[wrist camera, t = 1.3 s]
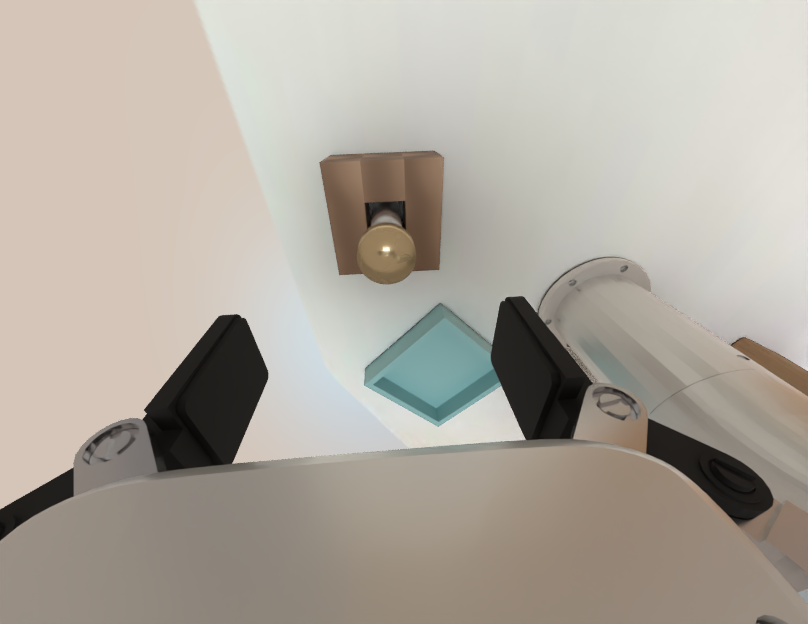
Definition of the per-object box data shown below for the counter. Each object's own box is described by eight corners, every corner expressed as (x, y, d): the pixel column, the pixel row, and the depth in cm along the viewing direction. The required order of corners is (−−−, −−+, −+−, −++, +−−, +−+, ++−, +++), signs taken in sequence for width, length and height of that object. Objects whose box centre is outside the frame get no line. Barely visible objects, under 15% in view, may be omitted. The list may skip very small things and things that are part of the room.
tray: (508, 359, 40) (516, 375, 37) (435, 409, 45) (438, 426, 43) (440, 303, 34) (444, 317, 32) (365, 368, 39) (364, 385, 37)
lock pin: (412, 205, 28) (428, 255, 18) (387, 232, 29) (389, 294, 19) (384, 177, 26) (383, 215, 16) (359, 207, 27) (344, 260, 17)
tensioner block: (434, 150, 25) (443, 157, 21) (431, 248, 30) (439, 269, 26) (330, 155, 25) (319, 162, 21) (345, 253, 30) (339, 275, 26)
